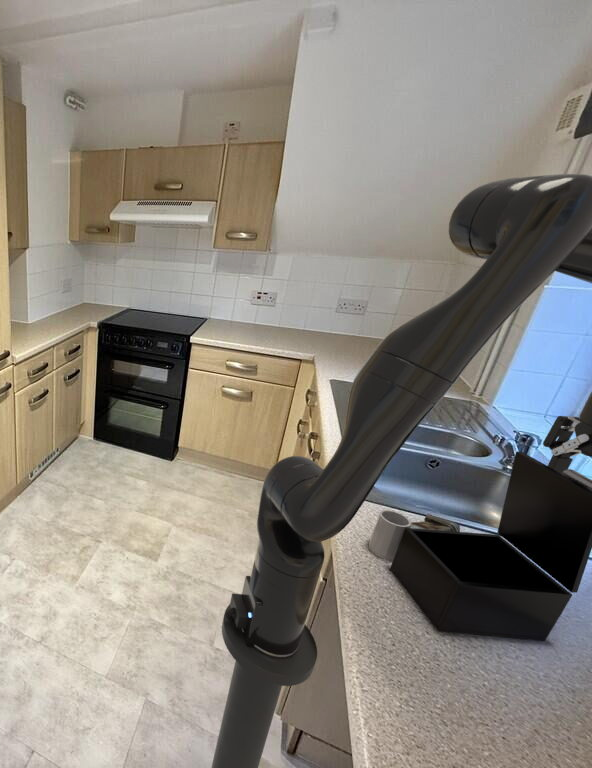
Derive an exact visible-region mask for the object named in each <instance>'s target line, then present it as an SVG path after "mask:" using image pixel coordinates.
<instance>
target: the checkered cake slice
mask: <svg viewBox="0 0 592 768" xmlns="http://www.w3.org/2000/svg"><path fill="white" fill-rule="evenodd" d="M423 518H424V519H423V521H415V522H411V527H410V528H416V529H429V530H442V531H455V532H461V526H460V525H459V524H458V523H457V522H453V521H451V520H449V519H445V518H442V517H438V516H435V515H433V514H432V513H427V514H426V516H425V517H423Z"/></svg>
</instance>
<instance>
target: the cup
mask: <svg viewBox="0 0 592 768" xmlns="http://www.w3.org/2000/svg"><path fill="white" fill-rule="evenodd" d="M411 523H412V521H411V520H410V519H409V518H408V517H407V516H406V515H404V514H403V513H400V512H398V511H395V510H391V509H382V510H381V511H379V513H378V515H377V519H376V522H375V524H374V527H373V530H372V533H371V536H370V539H369V542H368V543H369V544H368V549H369V550H370V551H371V552H372V553H373V554H374V555H376V556H377V557H379V558H381V559H384V560H387V561H393V559H394V556H395V554H396V551H397V548H398V546H399V543H400V540H401V538H402V535H403V532H404V530H405V528H410V527H411Z"/></svg>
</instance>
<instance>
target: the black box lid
mask: <svg viewBox="0 0 592 768" xmlns="http://www.w3.org/2000/svg"><path fill="white" fill-rule="evenodd" d="M510 472H511V473H510V477H509V481H508V485H507V489H506V494H505V499H504V501H503V507H502V511H501V516H500V520H499V523H498V524H499V525H498V528H497V535H499V536H501V537H502V538H503V539H504V540H506V541H507V542H508V543H509V544H511V545H512V546H513V547H514V548H515V549H517V550H518V551H519V552H520V553H522V554H523V555H524V556H525V557H527V558H528V559H529V560H530V561H532V562H533V563H534V564H535V565H536V566H538V567H539V568H540V569H541V570H543V571H544V572H545V573H546V574H548V575H549V576H550V577H551V578H553V579H554V580H555V581H556V582H557V583H559V584H560V585H561V586H562V587H564V588H565V589H566V590H567V591H569V592H570V593H571V594H573V593H574V594H575V593H576V594H577V593H578V592H579V589H580V585H581V583H582V579H583V576H584V573H585V570H586V567H587V564H588V561H589V558H590V555H591V552H592V479H591V478H590V477H588V476H586V475H584V474H581V473H580V472H578V471H576V470H575V469H573V468H568V469H567V470H565V471H563V472H562V473H559V472H557V471H556V470H554V469H552V468H550V467H549V466H548V464H547V465H546V464H545V463H543V462H542V461H539V460H538V459H536V458H534V457H533V456H530V455H529V454H527V453H525V452H524V451H521V450H518V451H516V452H515V455H514V460H513V463H512V467H511V471H510Z"/></svg>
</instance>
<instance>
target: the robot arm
mask: <svg viewBox="0 0 592 768" xmlns="http://www.w3.org/2000/svg"><path fill="white" fill-rule="evenodd" d="M450 215H451V216H450V219H449V221H448V229H447V230H448V232H447V233H448V237H449V240H450V242H451V244H452V246H454V248H455V249H456V250H457V251H459V252H460V253H462V254H463V255H466V256H469V257H472V258H476V259H480V260H485V261H484V262H483V263H482V264H481V266H480V267H479V268H478V269H477V270H476V272H475V273H473V274H472V276H471V277H470V278H469V279H468V280H467V281H466V282H465V283H464V284H463V285H461V287H459V288H458V289H457V290H456V291H455V292H454V293H452V294H451V295H449V296H448V297H446V298H445V299H443V300H441V301H440V302H438V303H437V304H435V305H433V306H431V307H430V308H428V309H426V310H424V311H423V312H421V313H420V314H418V315H416V316H414V317H413V318H411V319H409V320H408V321H406V322H404V323H402V324H401V325H399V326H398V327H397V328H396V329H394V330H392V331H391V332H390V333H388V334H387V335H386V336H385V337H384V338H383V339H382V340H381V341H380V342H379V343H378V345H377V346H376V347H375V349H374V351H372V353H371V355H370V356H368V358H367V360H366V361H365V362H364V364H363V365H362V366H361V368H360V369H359V370H358V372H357V374H356V375H355V377H354V379H353V381H352V384H351V387H350V390H349V394H348V400H347V406H346V414H345V419H344V427H343V433H342V436H341V439H340V442H339V445H338V446H337V449H336V450H335V452H334V453H333V455H332V457H331V458H330V460H329V461H328V463H326V466H325V467H324V468H323V467H321V466H320V465H319V464H318V463H317V462H315V461H314V460H312V459H311V458H308V457H306V456H302V455H291V456H288V457H284V458H282V459H280V460H279V461H277V462H276V463H275V464H274V465H273V466H272V467H271V468H270V469H269V470H268V472H267V475H266V476H265V478H264V481H263V484H262V489H261V493H260V497H259V498H260V499H259V507H258V511H257V519H256V532H257V535H258V541H257V547H256V551H255V556H254V560H253V565H252V569H251V574H250V575H246V576H245V577H244V580H243V581H244V582H243V586H242V591H241V593H233V592H232V593H231V597H230V602H229V605H230V606H231V609H229V610H228V611H227V612H226V618H227V619H228V621H229V622H230V623H234V620H235V624H236V627H237V628H241V631H242V634H243V637H244V640H245V643H246V646H247V647H252V648H255V649H256V650H257V651H259V652H260V653H262V654H264V655H266V656H269V657H272V658H276V659H286V658H290V657H292V656H293V655H295V654H296V652H297V651H298V648H299V644H300V639H301V635H302V632H303V628H304V625H306V621H307V618H308V615H309V613H310V608H311V604H312V601H313V599H314V595H315V593H316V592H315V591H316V588H317V585H318V581H319V578H320V575H321V571H322V568H323V565H324V561H325V549H324V546H323V543H322V542H324V541H325V542H326V541H327V540H330V539H332V538H334V537H335V536H336V535H338V534H339V533H340V532H342V531H343V530H344V529H345V528H346V527H347V526H348V525H349V524H350V522H351V521H352V520H353V519H354V518H355V516H356V514H357V513H358V511H359V510H360V509H361V508H362V506H363V504H364V503H365V501H366V499H367V498H368V496H369V495H370V493H371V492H372V490H373V489H374V487H375V485H376V484H377V482H378V481H379V479H380V477H381V476H382V474H383V473H384V471H385V470H386V469H387V467H388V466H389V464H390V463H391V462H392V460H393V459H394V457H396V455H397V454H398V452H399V451H400V450H401V449H402V448H403V446H404V445H405V443H406V442H407V441H408V440H409V438H410V437H411V436H412V434H413V433H414V432H415V431H416V429H417V428H418V427H419V426H420V424H421V423H422V422H423V421H424V420H425V418H427V416H428V415H430V413H431V412H432V411H433V410H434V409H435V408H436V407H437V405H438V404H439V403H440V402H441V401H442V400H443V398H444V397H445V395H447V393H448V392H449V391H450V390H451V388H452V387H453V385H454V384H456V382H457V381H458V379H459V378H460V377H461V375H462V374H463V372H464V371H465V370H466V369H467V367H468V366H469V365H470V363H471V362H472V361H473V360H474V359H475V358H476V356H477V355H478V354H479V352H480V351H481V350H482V349H483V348H484V347H485V346H486V345H487V343H488V342H489V341H490V340H491V339H492V338H493V336H494V335H496V334H497V332H498V330H500V328H501V327H502V326H503V325H504V324H505V323H506V321H507V320H508V319H509V318H510V317H511V316H512V315H513V314H514V313H515V312H516V311H517V310H518V309H519V308H520V307H521V306H522V305H523V304H524V303H525V302H526V301H527V300H528V299H529V298H530V297H531V296H532V295H533V294H534V293H535V292H536V291H537V290H538V289H539V288H540V287H541V286H542V285H543V284H544V283H545V282H546V281H547V280H548V279H549V278H550V277H551V276H552V274H554V273H555V272H557V273H560V274H563V275H566V276H567V277H572V278H575V279H578V280H580V281H583V282H586V283H589V284H592V175H590V174H583V173H580V174H579V173H563V174H562V173H561V174H546V175H545V174H544V175H533V176H521V177H510V178H503V179H498V180H495V181H490V182H487V183H484V184H482V185H479V186H477V187H476V188H474V189H472V190H470V191H469V192H468V193H467V194H466V195H464V196H463V198H461V199H460V201H459V202H458V203H457V204H456V206H455V208H454V209H453V210H452V213H451V214H450ZM574 433H575V434H574ZM573 434H574V435H575V438H572V439H571V437H572V436H573ZM542 445H543V447H545V448H548V449H549V450H550V451H551V455H552V456H551V457H550V460H549V462H548V464H547V466H549V467H550V468H552V469H554V470H556V471H557V472H559V473H562V472H563V471H565V470H567V469H570V468H569V467H570V466H571V465H572V463H573V461H574V459H573V458H572V457H575V456H578V455H580V454H581V455H583V456H586V457H590V458H592V391H591V392H590V394H589V396H588V398H587V400H586V402H585V403H584V406H583V408H582V410H581V412H580V414H579V416H571V415H558V416H556V419H555V420H554V422H553V423H552V426H551V428H550V429H549V431H548V432H547V435H546V436H545V438H544V440H543V441H542ZM232 615H233V617H234V619H233V617H232Z"/></svg>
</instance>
